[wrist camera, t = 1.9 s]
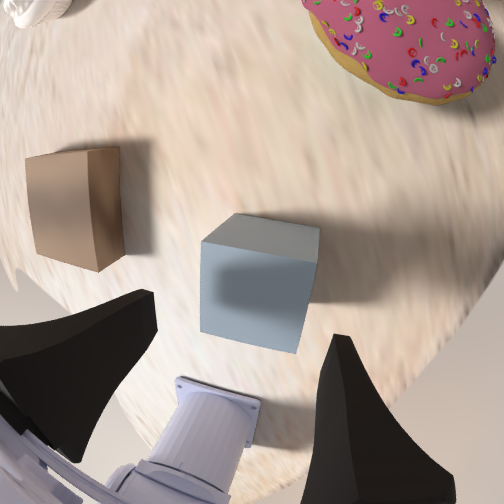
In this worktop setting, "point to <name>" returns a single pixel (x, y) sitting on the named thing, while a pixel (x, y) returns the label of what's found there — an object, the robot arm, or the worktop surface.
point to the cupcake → (409, 44)
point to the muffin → (35, 11)
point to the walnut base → (76, 206)
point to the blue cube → (257, 281)
